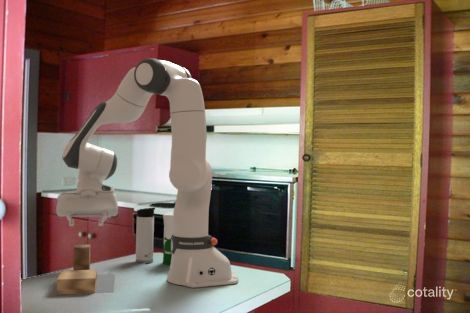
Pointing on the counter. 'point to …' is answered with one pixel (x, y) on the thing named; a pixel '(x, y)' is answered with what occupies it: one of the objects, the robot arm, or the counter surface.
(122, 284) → the counter surface
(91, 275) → the oak base block
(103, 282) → the grey mat
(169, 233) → the milk carton
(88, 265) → the walnut column
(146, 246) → the travel mug
